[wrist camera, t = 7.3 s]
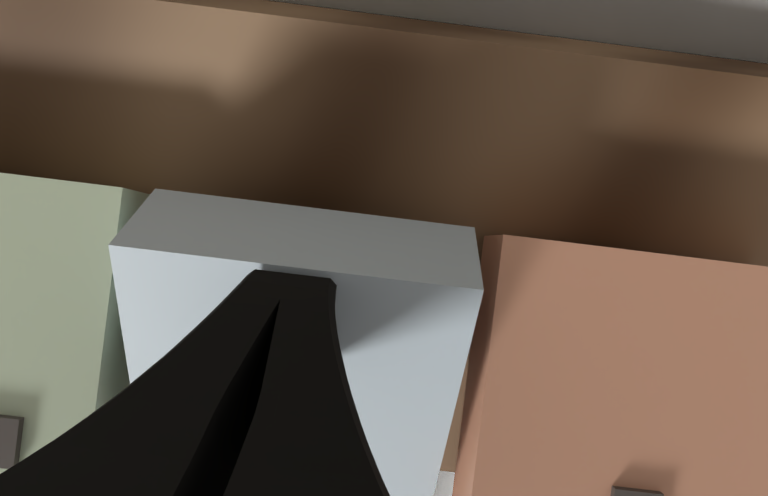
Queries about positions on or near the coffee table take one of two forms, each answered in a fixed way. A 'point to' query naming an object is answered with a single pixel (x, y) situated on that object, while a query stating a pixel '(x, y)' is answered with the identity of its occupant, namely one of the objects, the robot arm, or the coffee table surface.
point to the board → (392, 122)
